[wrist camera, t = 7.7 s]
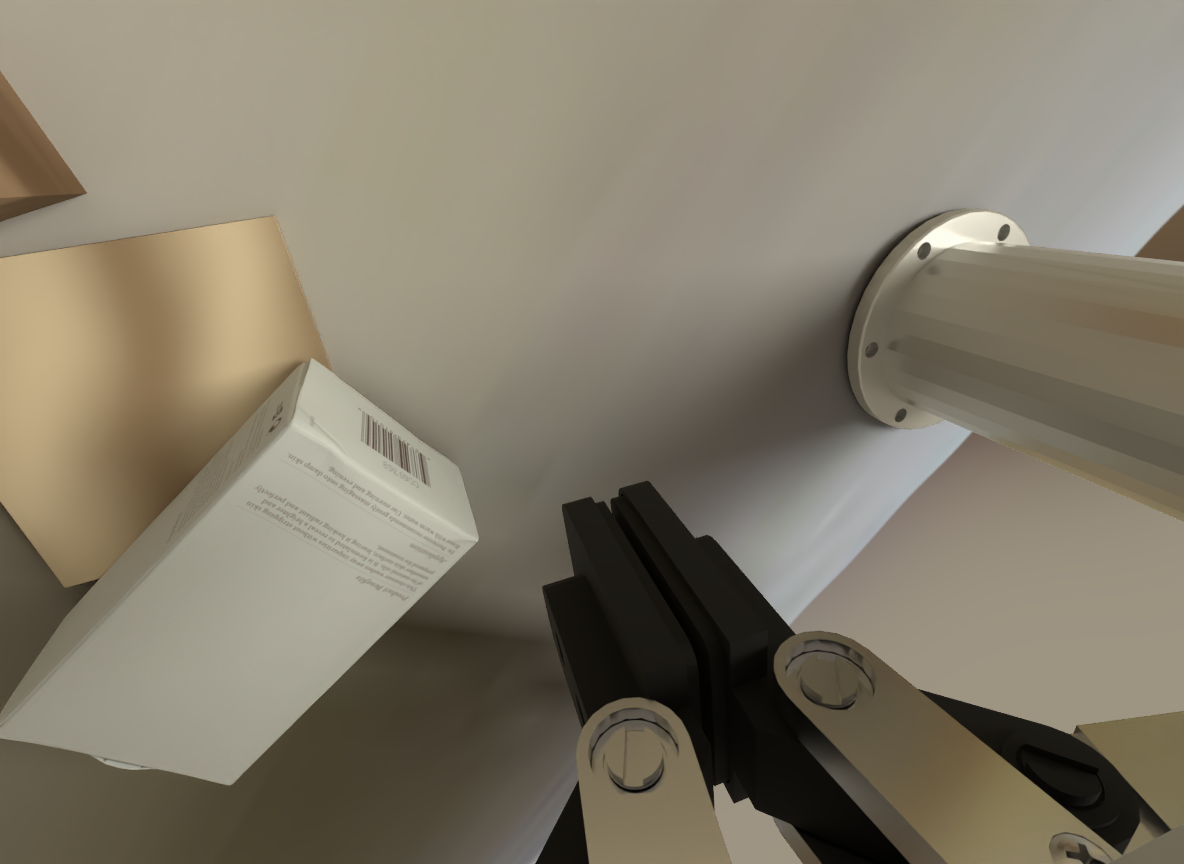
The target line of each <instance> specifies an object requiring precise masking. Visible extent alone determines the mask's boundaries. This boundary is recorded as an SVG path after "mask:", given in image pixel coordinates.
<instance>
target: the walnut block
mask: <svg viewBox="0 0 1184 864" xmlns="http://www.w3.org/2000/svg"><path fill="white" fill-rule="evenodd" d="M86 193H87V192H86V191H85V190H84V188H83V187H82V185H81V184H80V183H79V181H78V180H77V178H76V177H75V176H74V174H73V173H72V171H71V170H70V168H69V167H68V166H67V164H66V163H65V161H64V160H63V159H62V157H61V156H60V154H59V153H58V152H57V150H56V149H55V147H54V146H53V145H52V143H51V142H50V140H49V139H48V138H47V136H46V135H45V133H44V132H43V131H42V129H41V128H40V126H39V125H38V124H37V122H36V121H35V119H34V118H33V116H32V115H31V114H30V112H29V111H28V109H27V108H26V107H25V105H24V104H23V102H22V101H21V100H20V98H19V97H18V95H17V94H16V93H15V91H14V90H13V88H12V87H11V86H10V84H9V83H8V81H7V80H6V79H5V77H4V76H3V74H2V73H1V72H0V221H3V220H6V219H9V218H12V217H15V216H18V215H22V214H25V213H28V212H31V211H34V210H37V209H40V208H43V207H46V206H49V205H52V204H55V203H58V202H62V201H65V200H68V199H71V198H74V197H77V196H80V195H83V194H86Z"/></svg>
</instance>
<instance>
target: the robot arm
mask: <svg viewBox="0 0 1184 864" xmlns="http://www.w3.org/2000/svg"><path fill="white" fill-rule="evenodd" d="M847 358H848V375H849V379H850V383H851V388H852V391H853V393H854V395H855V397H856V399H857V401H858V403H859V404H860V405H861V406H862V408H863V409H864V410H865V411H866V412H867V413H868V414H869V415H871V416H873V417H874V418H876V419H877V420H879V421H881V422H883V423H886V424H888V425H890V426H892V427H895V428H902V429H917V428H925V427H928V426H931V425H934V424H937V423H940V422H941V421H943V420H947V421H949V422H951V423H954V424H956V425H959V426H961V427H963V428H966V429H968V430H970V431H973V432H975V433H977V434H980V435H982V436H984V437H987V438H989V439H991V440H994V441H996V442H998V443H1001V444H1003V445H1005V446H1008V447H1010V448H1012V449H1015V450H1017V451H1019V452H1022V453H1025V454H1026V455H1029V456H1031V457H1033V458H1036V459H1038V460H1041V461H1043V462H1045V463H1047V464H1050V465H1052V466H1054V467H1057V468H1059V469H1061V470H1064V471H1066V472H1068V473H1071V474H1073V475H1076V476H1078V477H1080V478H1083V479H1085V480H1087V481H1089V482H1092V483H1094V484H1096V485H1099V486H1101V487H1103V488H1106V489H1108V490H1110V491H1113V492H1115V493H1117V494H1120V495H1122V496H1125V497H1127V498H1129V499H1132V500H1134V501H1136V502H1139V503H1141V504H1143V505H1146V506H1148V507H1150V508H1153V509H1155V510H1157V511H1160V512H1162V513H1164V514H1167V515H1169V516H1171V517H1174V518H1176V519H1179V520H1181V521H1184V262H1178V261H1168V260H1159V259H1149V258H1140V257H1130V256H1121V255H1111V254H1102V253H1092V252H1083V251H1073V250H1063V249H1054V248H1044V247H1035V246H1029V243H1028V241H1027V239H1026V237H1025V235H1024V233H1023V231H1022V230H1021V229H1020V227H1019V226H1018V225H1017V224H1016V223H1015V222H1014V220H1012V219H1011V218H1009V217H1007V216H1006V215H1004V214H1002V213H1000V212H996V211H991V210H986V209H959V210H955V211H950V212H946V213H943V214H941V215H939V216H937V217H935V218H932V219H930V220H928V221H927V222H925V223H924V224H922V225H921V226H919V227H918V228H917V229H915V230H914V231H912V232H911V233H910V234H908V235H907V236H906V237H905V238H904V239H903V240H902V241H901V242H900V243H899V244H898V245H897V246H896V247H895V248H894V249H893V250H892V251H891V253H890V254H889V255H888V256H887V258H886V259H885V260H884V261H883V263H882V264H881V265H880V267H879V268H878V269H877V271H876V273H875V274H874V276H873V278H872V279H871V281H870V283H869V284H868V286H867V288H866V290H865V292H864V294H863V296H862V299H861V301H860V303H859V306H858V308H857V310H856V313H855V317H854V321H853V324H852V328H851V331H850V337H849V345H848V353H847ZM611 510H612V513H611V512H610V510H609V508H608V507H607V505H606V503H605V502H604V501H602V502H598V503H595V502H594V500H593V499H592V498H591V497H588V498H584V499H581V500H577V501H573V502H570V503H566V504H563V505H562V511H563V517H564V522H565V528H566V533H567V538H568V544H569V549H570V554H571V560H572V565H573V570H574V576H573V577H570V578H567V579H564V580H560V581H557V582H554V583H551V584H548V585H544V586H543V587H542V588H543V594H544V599H545V603H546V608H547V612H548V617H549V621H550V625H551V629H552V633H553V636H554V640H555V644H556V647H557V651H558V654H559V658H560V661H561V664H562V667H563V671H564V674H565V677H566V680H567V683H568V686H569V689H570V692H571V696H572V699H573V702H574V705H575V708H576V711H577V714H578V718H579V721H580V724H581V727H582V731H581V734H580V737H579V740H578V742H577V755H576V763H577V771H578V779H579V780H578V782H577V784H576V786H575V788H574V790H573V792H572V794H571V796H570V798H569V800H568V802H567V804H566V805H565V807H564V809H563V811H562V813H561V815H560V817H559V819H558V821H557V823H556V825H555V827H554V829H553V831H552V833H551V834H550V836H549V838H548V840H547V842H546V844H545V846H544V848H543V850H542V852H541V854H540V856H539V858H538V860H537V862H536V863H535V864H732V863H731V860H730V857H729V854H728V851H727V848H726V845H725V842H724V839H723V836H722V833H721V830H720V827H719V824H718V821H717V818H716V815H715V811H714V791H713V785H714V786H716V785H718V784H721V783H724V785H725V787H726V789H727V791H728V793H729V795H730V797H731V799H732V801H733V802H734V803H736V802H739V801H741V800H743V799H746V798H748V797H749V799H750V800H751V802H752V804H753V806H754V808H755V809H757V810H759V811H761V812H763V813H765V814H768V815H770V816H773V819H774V822H775V824H776V825H777V827H778V829H779V831H780V833H781V834H782V836H783V837H784V839H785V840H786V841H787V843H788V844H789V845H790V847H791V848H792V849H793V851H794V852H795V853H796V855H797V856H798V858H799V859H800V860H801V862H802V863H803V864H1184V711H1180V712H1173V713H1166V714H1159V715H1151V716H1144V717H1136V718H1130V719H1122V720H1115V721H1107V722H1099V723H1092V724H1084V725H1077V726H1076V728H1075V731H1074V733H1073V734H1067V733H1065V732H1062V731H1059V730H1057V729H1054V728H1052V727H1049V726H1046V725H1043V724H1039V723H1036V722H1032V721H1028V720H1025V719H1022V718H1018V717H1014V716H1011V715H1007V714H1004V713H1000V712H997V711H993V710H990V709H986V708H982V707H979V706H976V705H972V704H969V703H965V702H962V701H958V700H955V699H951V698H947V697H944V696H941V695H937V694H933V693H930V692H926V691H923V690H920V689H917V688H915V687H914V686H913V685H912V684H911V683H909V682H908V681H907V680H906V679H904V678H903V677H902V676H901V675H899V674H898V673H897V672H896V671H894V670H893V669H892V668H891V667H889V666H888V665H887V664H886V663H885V662H883V661H882V660H881V659H879V658H878V657H877V656H876V655H875V654H873V653H872V652H871V651H870V650H868V649H867V648H865V647H864V646H862V645H861V644H859V643H858V642H856V641H855V640H853V639H850V638H847V637H845V636H842V635H840V634H837V633H830V632H824V631H812V632H803V633H800V634H797V635H796V634H795V633H794V632H793V631H792V630H791V628H790V627H789V626H788V625H787V624H786V622H785V621H784V620H783V619H782V618H781V617H780V615H779V614H778V613H777V612H776V611H775V610H774V608H773V607H772V606H771V605H770V604H769V603H768V601H767V600H766V599H765V598H764V597H763V595H762V594H761V593H760V592H759V591H758V590H757V588H756V587H755V586H754V585H753V584H752V583H751V581H750V580H749V579H748V578H747V577H746V576H745V574H744V573H743V572H742V571H741V570H740V569H739V567H738V566H737V565H736V564H735V563H734V562H733V560H732V559H731V558H730V557H729V556H728V555H727V553H726V552H725V551H724V550H723V549H722V547H721V546H720V545H719V544H718V543H717V542H716V541H715V540H714V539H713V538H712V537H711V536H708V535H705V536H702V537H698V538H694V537H693V535H692V534H691V533H690V532H689V531H688V529H687V528H686V527H685V526H684V524H683V523H682V522H681V521H680V519H679V518H678V517H677V516H676V514H675V513H674V512H673V511H672V509H671V508H670V507H669V506H668V504H667V503H666V502H665V501H664V499H663V498H662V497H661V496H660V494H659V493H658V492H657V491H656V489H655V488H654V487H653V486H652V484H651V483H650V482H649V481H644V482H641V483H637V484H634V485H630V486H627V487H623V488H620V489H619V497H616V498H612V499H611Z"/></svg>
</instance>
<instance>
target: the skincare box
mask: <svg viewBox="0 0 1184 864" xmlns="http://www.w3.org/2000/svg"><path fill="white" fill-rule="evenodd" d="M478 540H479V536H478V532H477V529H476V525H475V521H474V517H473V514H472V511H471V507H470V504H469V501H468V497H467V494H466V491H465V487H464V483H463V480H462V476H461V473H460V470H459V468H458V467H457V466H456V465H455V464H454V463H453V462H452V461H450V460H449V459H448V458H446V457H445V456H443V455H442V454H440V453H438V452H437V451H435V450H434V449H433V448H431V447H430V446H428V445H427V444H425V443H424V442H422V441H421V440H419V439H418V438H417V437H415V436H414V435H413V434H412V433H410V432H409V431H408V430H407V429H405V428H404V427H403V426H401V425H400V424H399V423H398V422H396V421H395V420H394V419H392V418H391V417H390V416H388V415H387V414H386V413H385V412H383V411H382V410H381V409H379V408H378V407H377V406H375V405H374V404H373V403H371V402H370V401H369V400H367V399H366V398H365V397H363V396H362V395H361V394H359V393H358V392H357V391H355V390H354V389H353V388H351V387H350V386H349V385H347V384H346V383H345V382H343V381H342V380H341V379H339V378H338V377H337V376H336V375H335V374H334V373H333V372H331V371H330V370H328V369H327V368H326V367H324V366H323V365H322V364H320V363H319V362H317V361H316V360H314V359H313V358H311V359H310V361H309V362H305V363H302V364H301V365H299V366H298V367H297V368H296V369H295V370H294V371H293V372H292V373H291V374H290V375H289V377H288V378H287V379H286V380H285V381H284V382H283V383H282V384H281V385H280V386H279V387H278V388H277V389H276V390H275V391H274V392H273V393H272V395H271V396H270V397H269V398H268V399H267V400H266V401H265V402H264V403H263V404H262V405H261V406H260V407H259V408H258V409H257V410H256V411H255V413H254V414H253V415H252V416H251V417H250V418H249V419H248V420H247V421H246V422H245V423H244V424H243V426H242V427H241V428H240V429H239V430H238V431H237V432H236V433H235V434H234V435H233V436H232V437H231V438H230V439H229V441H228V442H227V443H226V444H225V445H224V446H223V447H222V448H221V449H220V450H219V451H218V452H217V454H216V455H215V456H214V457H213V458H212V459H211V460H210V461H209V462H208V463H207V464H206V465H205V467H204V468H203V469H202V470H201V471H200V472H199V473H198V474H197V475H196V476H195V477H194V478H193V480H192V481H191V482H190V483H189V484H188V485H187V486H186V487H185V488H184V489H183V490H182V491H181V492H180V494H179V495H178V496H177V497H176V498H175V499H174V500H173V501H172V502H171V503H170V504H169V505H168V506H167V507H166V508H165V509H164V510H163V511H162V513H161V514H160V515H159V516H158V517H157V518H156V519H155V520H154V521H153V522H152V523H151V524H150V525H149V526H148V528H147V529H146V530H145V531H144V532H143V533H142V534H141V535H140V536H139V537H138V538H137V539H136V540H135V541H134V543H133V544H132V545H131V546H130V547H129V548H128V549H127V550H126V551H125V552H124V553H123V554H122V555H121V556H120V557H119V559H118V560H117V561H116V562H115V563H114V564H113V565H112V566H111V567H110V568H109V569H108V570H107V571H106V573H105V574H104V575H103V576H102V577H101V578H100V579H99V580H98V581H97V582H96V583H95V584H94V586H93V587H92V588H91V589H90V590H89V591H88V592H87V593H86V594H85V595H84V597H83V598H82V599H81V600H80V601H79V602H78V603H77V604H76V605H75V607H74V608H73V609H72V610H71V611H70V612H69V613H68V614H67V616H66V617H65V618H64V620H63V621H62V622H61V624H60V625H59V627H58V628H57V630H56V631H55V632H54V634H53V635H52V637H51V638H50V640H49V641H48V643H47V644H46V645H45V647H44V648H43V650H42V651H41V653H40V654H39V656H38V657H37V658H36V660H35V661H34V663H33V664H32V666H31V667H30V669H29V670H28V671H27V673H26V674H25V676H24V677H23V679H22V680H21V682H20V683H19V685H18V686H17V688H16V689H15V691H14V692H13V694H12V695H11V697H10V698H9V700H8V702H7V703H6V705H5V706H4V708H3V710H2V711H1V713H0V738H2V739H8V740H15V741H23V742H29V743H34V744H39V745H45V746H50V747H55V748H60V749H65V750H70V751H75V752H80V753H84V754H89V755H90V756H92V757H94V758H96V759H98V760H99V761H101V762H103V763H104V764H107V765H110V766H114V767H118V768H123V769H131V770H140V769H160V770H165V771H169V772H174V773H179V774H183V775H187V776H192V777H196V778H200V779H204V780H208V781H212V782H216V783H220V784H224V785H231V784H233V783H234V782H235V781H236V780H237V779H238V778H239V777H240V776H241V775H242V774H243V773H244V772H245V771H246V770H247V769H248V768H249V767H250V766H251V765H252V764H253V763H254V762H255V761H256V760H257V759H258V758H259V757H260V756H261V755H262V754H263V753H264V752H265V751H266V750H267V749H268V748H269V747H270V746H271V745H272V744H273V743H274V742H275V741H276V740H277V739H278V738H279V737H280V736H281V735H282V734H283V733H284V732H285V731H286V730H287V729H288V728H289V727H290V726H291V725H292V724H293V723H294V722H295V721H296V720H297V719H298V718H299V717H300V716H301V715H302V714H303V713H304V712H305V711H306V710H307V709H308V708H309V707H310V706H311V705H312V704H313V703H314V702H315V701H317V700H318V699H319V698H320V697H321V696H322V695H323V694H324V693H325V692H326V691H327V690H328V689H329V688H330V687H331V686H332V685H333V684H334V683H335V682H336V681H337V680H338V679H339V678H340V677H341V676H342V675H343V674H344V673H345V672H346V671H347V670H348V669H349V668H350V667H351V666H352V665H353V664H354V663H355V662H356V661H357V660H358V659H359V658H360V657H361V656H362V655H363V654H364V653H365V652H366V651H367V650H368V649H369V648H370V647H371V646H372V645H373V644H374V643H375V642H376V641H377V640H378V639H379V638H380V637H381V636H382V635H383V634H384V633H385V632H386V631H387V630H388V629H389V628H390V627H391V626H392V625H393V624H395V623H396V622H397V621H398V620H399V618H400V617H401V616H402V615H403V614H404V613H406V612H407V611H408V610H409V609H410V608H411V607H412V606H413V605H414V604H415V603H416V602H417V601H418V600H419V599H420V598H421V597H422V596H423V595H424V594H425V593H426V592H427V591H428V590H429V589H430V588H431V587H432V586H433V585H434V584H435V583H436V582H437V581H438V580H439V579H440V578H441V577H442V576H443V575H444V574H445V573H446V572H447V571H448V570H449V569H450V568H451V567H452V566H453V565H454V564H455V563H456V562H457V561H458V560H459V559H460V558H461V557H462V556H463V555H464V554H465V553H466V552H467V551H468V550H469V549H470V548H471V547H472V546H474V545H475V544H476V543H477V542H478Z"/></svg>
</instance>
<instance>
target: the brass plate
mask: <svg viewBox="0 0 1184 864" xmlns="http://www.w3.org/2000/svg"><path fill="white" fill-rule="evenodd" d="M311 358H313V359H314V360H316V361H317V362H319V363H320V364H322V365H323V366H324V367H326V368H327V369H328V370H330V371H331V372H332V370H331V367H330V364H329V361H328V359H327V356H326V353H325V350H324V348H323V345H322V342H321V340H320V337H319V334H318V331H317V329H316V326H315V323H314V320H313V318H312V315H311V312H310V309H309V307H308V304H307V301H306V299H305V296H304V293H303V290H302V288H301V285H300V282H299V279H298V277H297V274H296V271H295V269H294V266H293V263H292V260H291V258H290V255H289V252H288V249H287V247H286V244H285V241H284V239H283V236H282V233H281V230H280V228H279V225H278V222H277V219H276V217H275V216H269V217H262V218H256V219H249V220H243V221H236V222H230V223H223V224H217V225H210V226H204V227H197V228H191V229H184V230H178V231H171V232H165V233H158V234H152V235H145V236H139V237H132V238H126V239H119V240H113V241H106V242H100V243H93V244H87V245H80V246H74V247H67V248H61V249H54V250H48V251H41V252H35V253H28V254H22V255H15V256H9V257H2V258H0V502H1V503H2V504H3V506H4V507H5V508H6V510H7V511H8V512H9V514H10V515H11V516H12V518H13V519H14V520H15V522H16V523H17V524H18V526H19V527H20V528H21V530H22V531H23V532H24V534H25V535H26V536H27V538H28V539H29V540H30V542H31V543H32V544H33V546H34V547H35V548H36V550H37V551H38V552H39V554H40V555H41V556H42V558H43V559H44V560H45V562H46V563H47V565H48V566H49V567H50V569H51V570H52V571H53V573H54V574H55V575H56V577H57V578H58V579H59V581H60V582H61V583H62V585H63V586H64V587H65V588H67V587H71V586H75V585H78V584H82V583H85V582H89V581H92V580H96V579H99V578H101V577H102V576H103V575H104V574H105V573H106V571H107V570H108V569H109V568H110V567H111V566H112V565H113V564H114V563H115V562H116V561H117V560H118V559H119V557H120V556H121V555H122V554H123V553H124V552H125V551H126V550H127V549H128V548H129V547H130V546H131V545H132V544H133V543H134V541H135V540H136V539H137V538H138V537H139V536H140V535H141V534H142V533H143V532H144V531H145V530H146V529H147V528H148V526H149V525H150V524H151V523H152V522H153V521H154V520H155V519H156V518H157V517H158V516H159V515H160V514H161V513H162V511H163V510H164V509H165V508H166V507H167V506H168V505H169V504H170V503H171V502H172V501H173V500H174V499H175V498H176V497H177V496H178V495H179V494H180V492H181V491H182V490H183V489H184V488H185V487H186V486H187V485H188V484H189V483H190V482H191V481H192V480H193V478H194V477H195V476H196V475H197V474H198V473H199V472H200V471H201V470H202V469H203V468H204V467H205V465H206V464H207V463H208V462H209V461H210V460H211V459H212V458H213V457H214V456H215V455H216V454H217V452H218V451H219V450H220V449H221V448H222V447H223V446H224V445H225V444H226V443H227V442H228V441H229V439H230V438H231V437H232V436H233V435H234V434H235V433H236V432H237V431H238V430H239V429H240V428H241V427H242V426H243V424H244V423H245V422H246V421H247V420H248V419H249V418H250V417H251V416H252V415H253V414H254V413H255V411H256V410H257V409H258V408H259V407H260V406H261V405H262V404H263V403H264V402H265V401H266V400H267V399H268V398H269V397H270V396H271V395H272V393H273V392H274V391H275V390H276V389H277V388H278V387H279V386H280V385H281V384H282V383H283V382H284V381H285V380H286V379H287V378H288V377H289V375H290V374H291V373H292V372H293V371H294V370H295V369H296V368H297V367H298V366H299V365H301V364H302V363H305V362H309V361H310V359H311Z"/></svg>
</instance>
